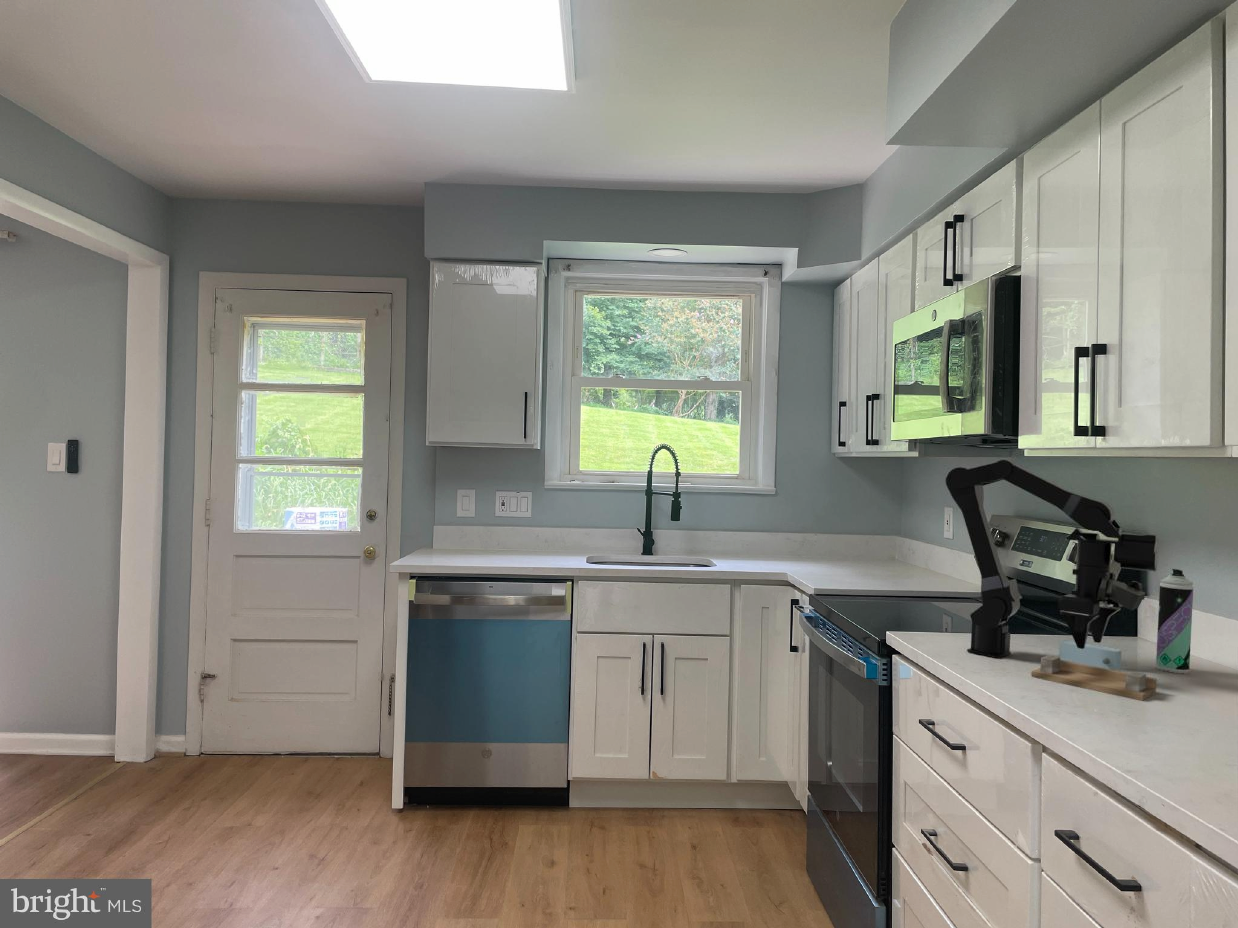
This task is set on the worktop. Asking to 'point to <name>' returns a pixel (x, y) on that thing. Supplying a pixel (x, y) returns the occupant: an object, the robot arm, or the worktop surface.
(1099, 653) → the door panel
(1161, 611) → the spray can
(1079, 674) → the rail
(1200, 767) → the worktop surface
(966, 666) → the worktop surface
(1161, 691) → the worktop surface
